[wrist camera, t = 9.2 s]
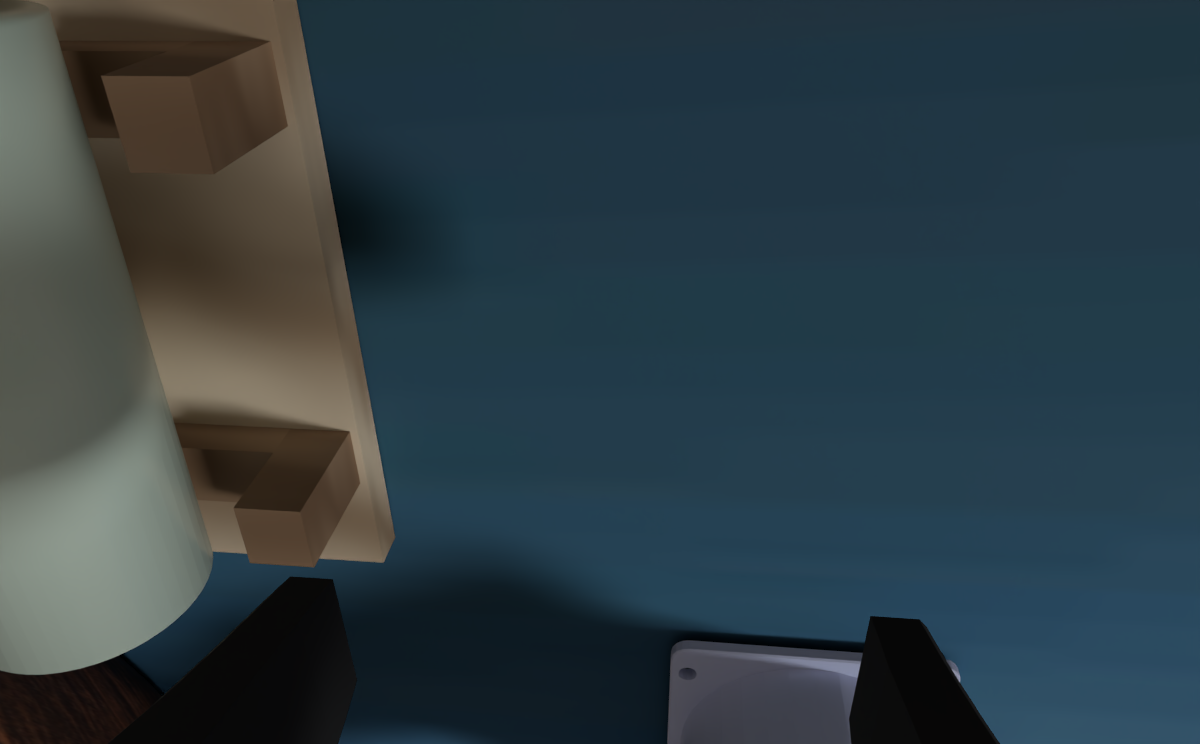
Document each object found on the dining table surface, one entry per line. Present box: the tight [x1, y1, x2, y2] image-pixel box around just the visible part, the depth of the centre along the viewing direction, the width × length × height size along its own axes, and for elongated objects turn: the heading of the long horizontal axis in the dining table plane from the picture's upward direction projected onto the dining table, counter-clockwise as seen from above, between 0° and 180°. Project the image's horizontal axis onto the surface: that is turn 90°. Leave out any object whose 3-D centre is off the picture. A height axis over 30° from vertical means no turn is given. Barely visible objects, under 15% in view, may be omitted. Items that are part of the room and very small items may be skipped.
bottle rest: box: [23, 0, 395, 567], centre depth 19 cm, size 16×10×4 cm, turn 1°
